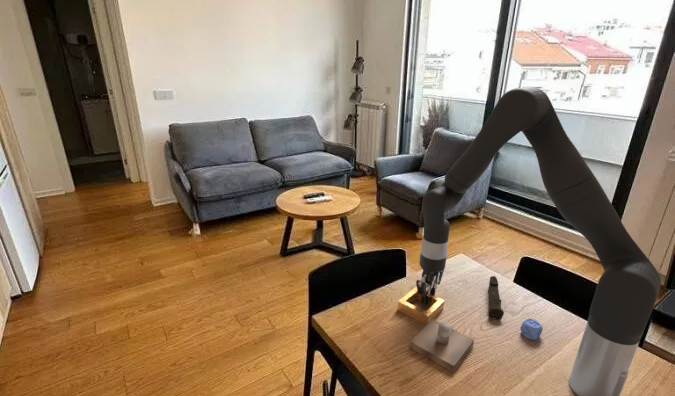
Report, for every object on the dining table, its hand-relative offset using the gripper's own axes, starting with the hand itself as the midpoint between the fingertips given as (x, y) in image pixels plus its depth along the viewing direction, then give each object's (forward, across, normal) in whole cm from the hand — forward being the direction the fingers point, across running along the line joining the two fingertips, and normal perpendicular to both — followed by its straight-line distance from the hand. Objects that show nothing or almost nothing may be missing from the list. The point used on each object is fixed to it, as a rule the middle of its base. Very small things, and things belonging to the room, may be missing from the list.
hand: (427, 300), depth 114 cm
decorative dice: (+1, +7, -28) cm, 29 cm away
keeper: (+1, -14, -12) cm, 19 cm away
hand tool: (+1, +15, -14) cm, 21 cm away
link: (+1, -4, 0) cm, 4 cm away
